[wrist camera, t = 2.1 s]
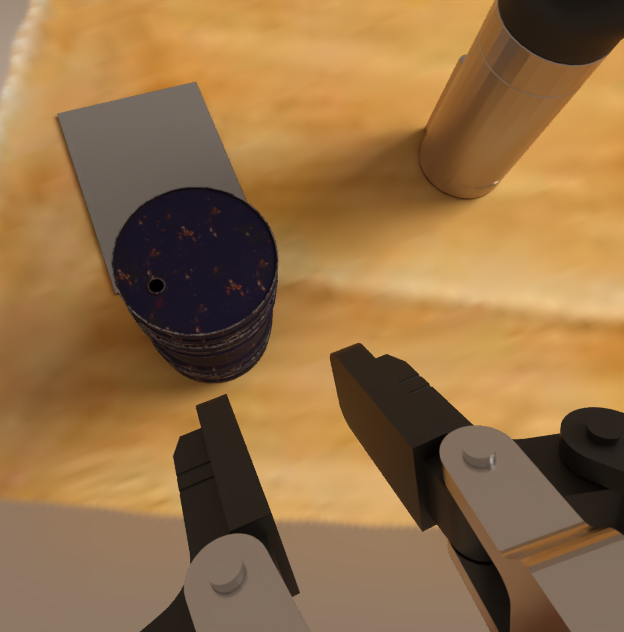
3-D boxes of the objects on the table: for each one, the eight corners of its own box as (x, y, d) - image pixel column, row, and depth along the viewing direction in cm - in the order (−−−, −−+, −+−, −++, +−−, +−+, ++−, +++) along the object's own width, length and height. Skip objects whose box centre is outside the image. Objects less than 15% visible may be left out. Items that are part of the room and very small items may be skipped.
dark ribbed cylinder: (224, 257, 45) (211, 157, 30) (293, 335, 43) (314, 267, 29) (133, 322, 42) (73, 245, 28) (204, 408, 40) (178, 373, 26)
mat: (58, 115, 47) (57, 113, 47) (196, 83, 50) (195, 81, 50) (116, 294, 42) (115, 293, 42) (265, 246, 45) (265, 245, 45)
